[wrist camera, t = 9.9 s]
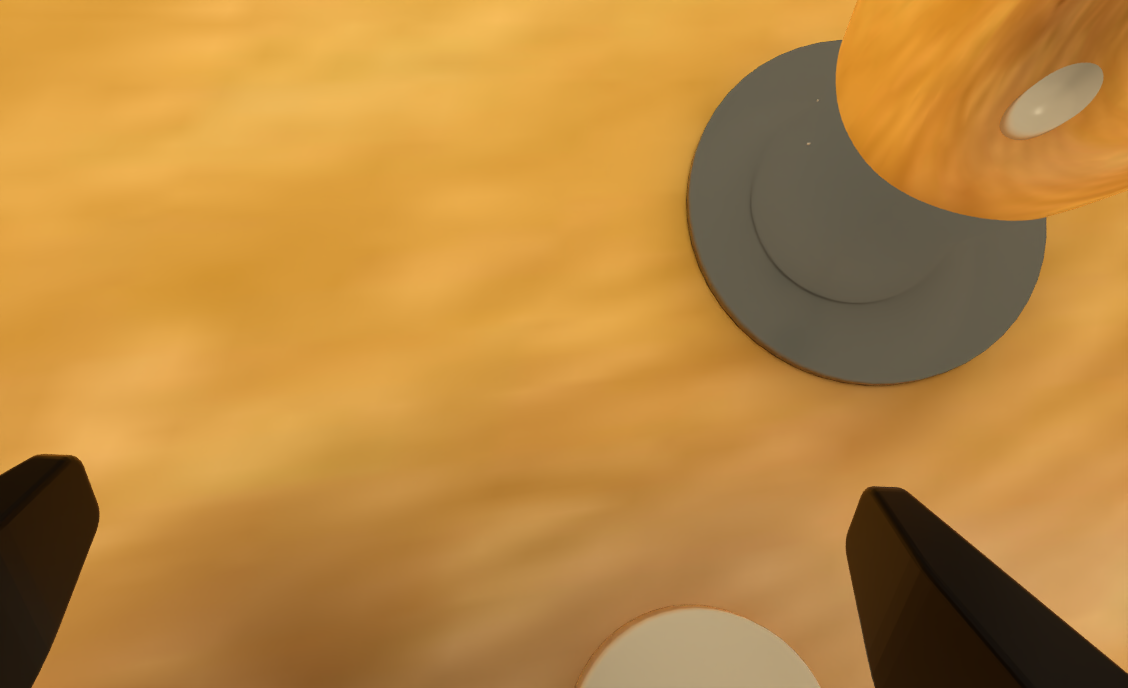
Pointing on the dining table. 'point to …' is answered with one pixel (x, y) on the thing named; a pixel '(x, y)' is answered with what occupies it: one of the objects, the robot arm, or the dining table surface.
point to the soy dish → (694, 653)
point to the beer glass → (944, 138)
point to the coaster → (822, 326)
